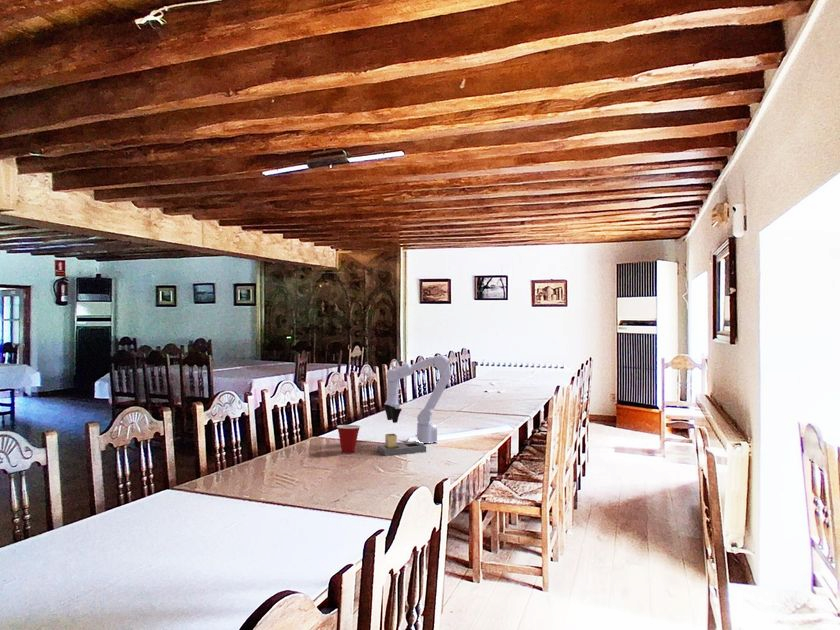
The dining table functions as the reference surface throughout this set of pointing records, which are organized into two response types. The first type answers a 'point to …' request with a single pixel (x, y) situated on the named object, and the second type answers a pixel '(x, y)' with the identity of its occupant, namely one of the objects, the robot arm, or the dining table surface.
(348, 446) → the plastic cup
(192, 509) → the dining table surface
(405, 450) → the steel frame
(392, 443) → the wooden peg
